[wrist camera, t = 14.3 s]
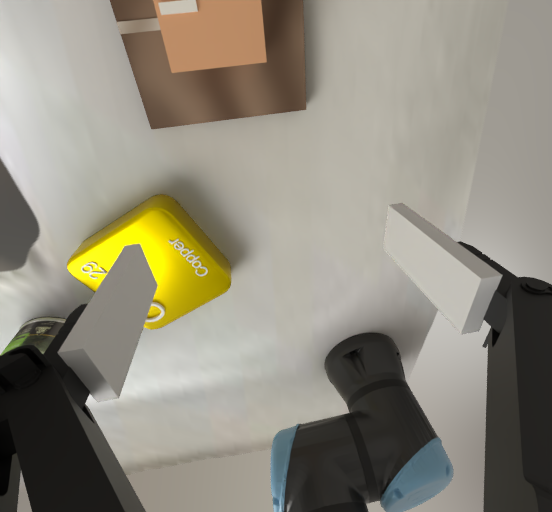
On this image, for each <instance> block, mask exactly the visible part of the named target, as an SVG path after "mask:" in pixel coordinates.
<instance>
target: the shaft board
mask: <svg viewBox="0 0 552 512" xmlns="http://www.w3.org/2000/svg"><path fill="white" fill-rule="evenodd" d="M110 2H111V5H112V8H113V12H114V15H115V18H116V21H117V25H118V28H119V31H120V34H121V36H122V40H123V43H124V46H125V49H126V52H127V55H128V58H129V61H130V64H131V67H132V71H133V74H134V77H135V80H136V83H137V86H138V89H139V92H140V95H141V98H142V102H143V105H144V108H145V111H146V114H147V117H148V120H149V123H150V126H151V129H158V128H166V127H174V126H182V125H189V124H197V123H205V122H213V121H221V120H229V119H236V118H244V117H252V116H260V115H268V114H275V113H283V112H291V111H299V110H306V83H305V50H304V16H303V0H261V4H262V15H263V26H264V37H265V48H266V59H267V62H265V63H256V64H248V65H239V66H230V67H221V68H212V69H203V70H194V71H186V72H177V73H172V72H171V68H170V64H169V60H168V57H167V53H166V49H165V45H164V41H163V37H162V33H161V29H160V25H159V21H158V17H157V13H156V10H155V6H154V2H153V0H110Z"/></svg>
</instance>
